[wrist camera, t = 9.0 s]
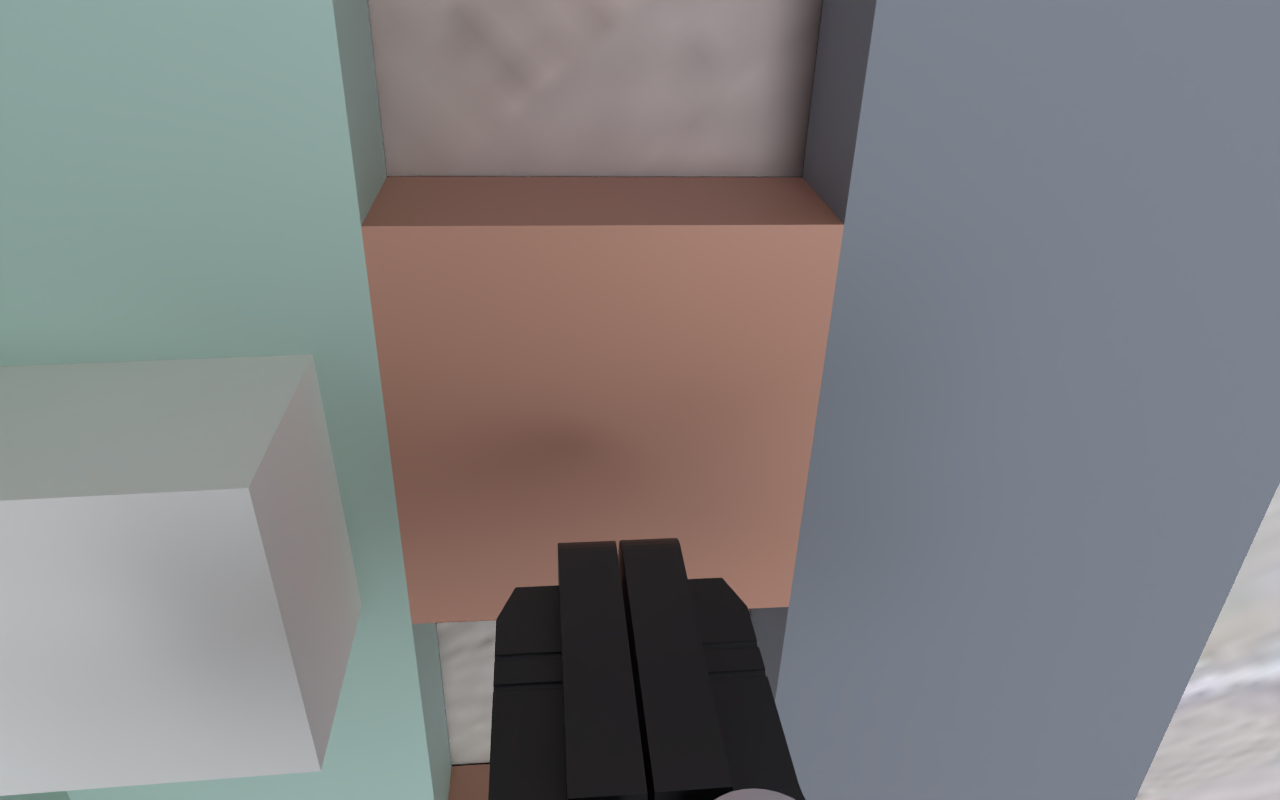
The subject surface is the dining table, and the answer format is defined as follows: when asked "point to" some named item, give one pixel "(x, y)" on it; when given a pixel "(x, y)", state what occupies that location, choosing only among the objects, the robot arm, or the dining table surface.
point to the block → (168, 573)
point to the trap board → (723, 360)
